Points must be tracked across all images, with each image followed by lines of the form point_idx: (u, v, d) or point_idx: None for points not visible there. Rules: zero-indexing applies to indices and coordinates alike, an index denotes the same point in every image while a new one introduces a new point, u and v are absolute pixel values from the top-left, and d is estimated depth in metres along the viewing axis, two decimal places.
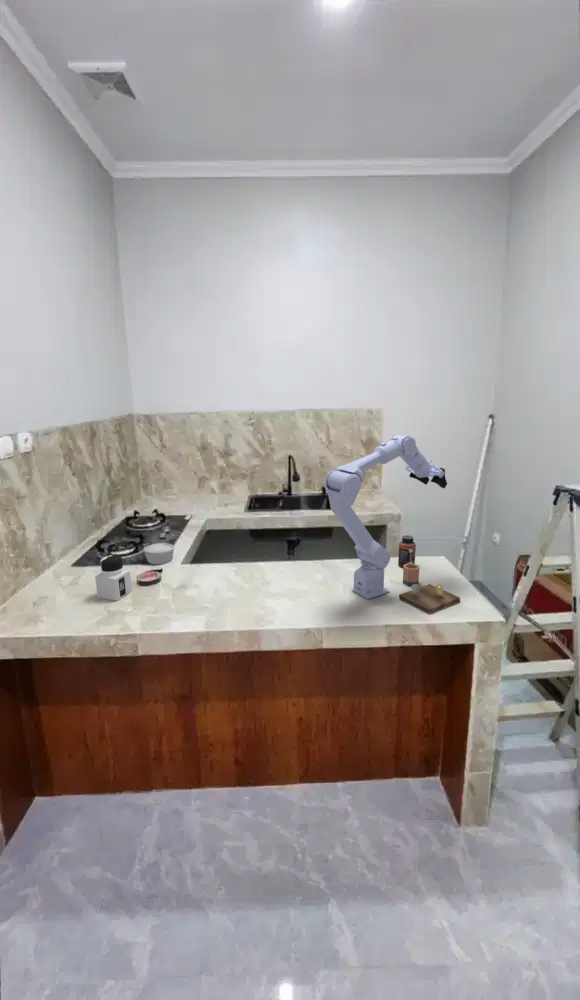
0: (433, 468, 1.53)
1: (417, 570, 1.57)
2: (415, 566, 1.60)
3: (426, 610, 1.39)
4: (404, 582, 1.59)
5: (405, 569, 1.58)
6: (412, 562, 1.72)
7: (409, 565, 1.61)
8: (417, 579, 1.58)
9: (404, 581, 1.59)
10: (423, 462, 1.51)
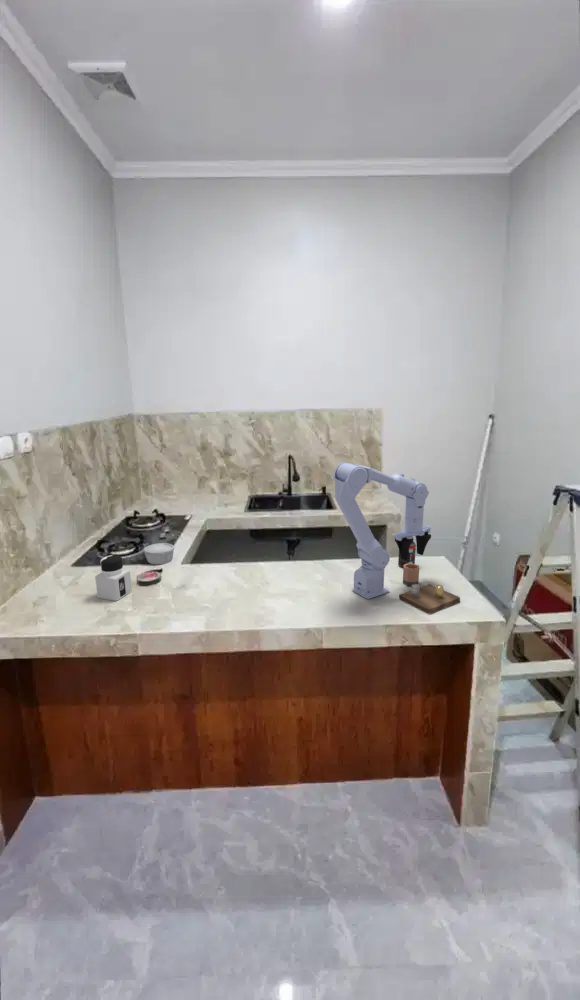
0: None
1: (417, 570, 1.57)
2: (415, 566, 1.60)
3: (426, 610, 1.39)
4: (404, 582, 1.59)
5: (405, 569, 1.58)
6: (412, 562, 1.72)
7: (409, 565, 1.61)
8: (417, 579, 1.58)
9: (404, 581, 1.59)
10: (408, 519, 1.53)
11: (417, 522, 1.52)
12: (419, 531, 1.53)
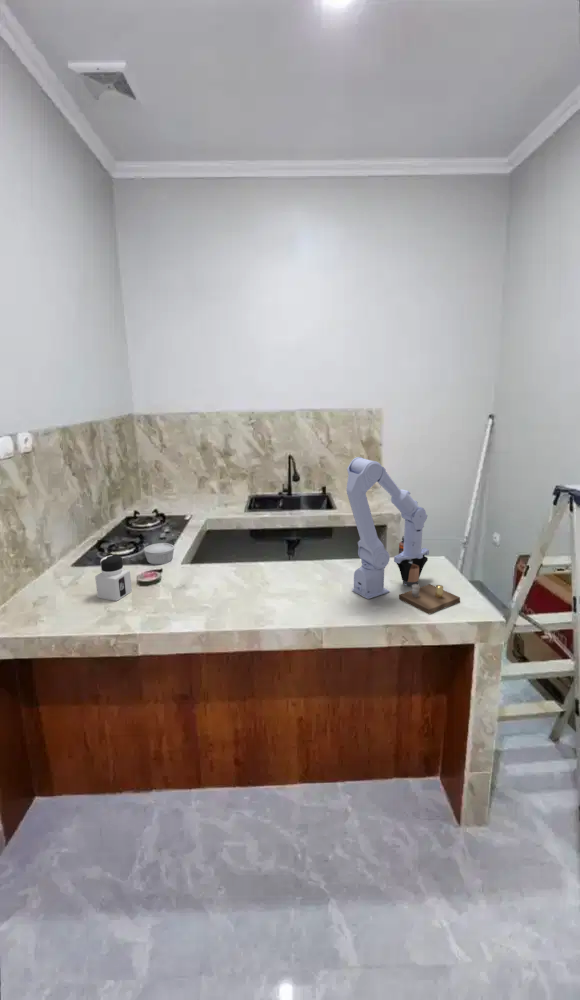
0: (407, 557, 1.55)
1: (417, 570, 1.57)
2: (415, 566, 1.60)
3: (426, 610, 1.39)
4: (404, 582, 1.59)
5: None
6: (412, 562, 1.72)
7: None
8: (417, 579, 1.58)
9: (404, 581, 1.59)
10: (406, 542, 1.55)
11: (416, 545, 1.54)
12: (418, 554, 1.55)
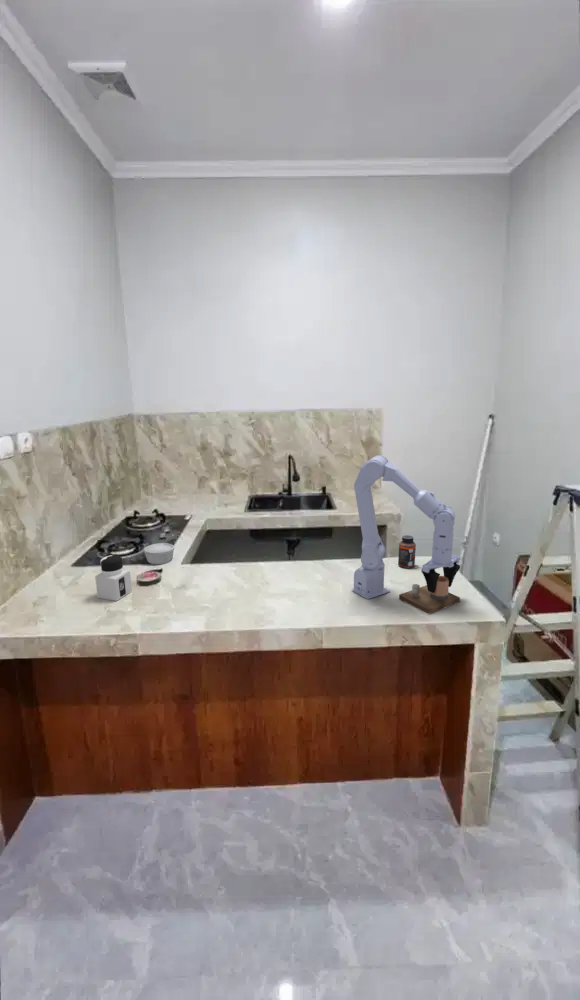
0: None
1: (447, 583, 1.43)
2: (444, 578, 1.46)
3: (426, 610, 1.39)
4: (432, 596, 1.45)
5: None
6: (412, 562, 1.72)
7: None
8: (446, 593, 1.44)
9: (432, 595, 1.45)
10: (436, 549, 1.41)
11: (446, 553, 1.40)
12: (448, 562, 1.41)
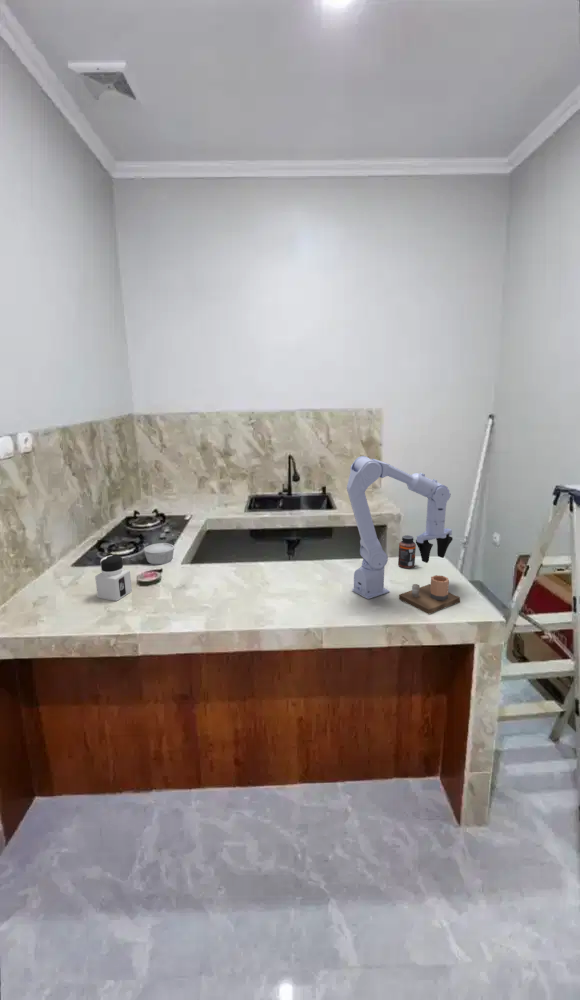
0: None
1: (447, 583, 1.43)
2: (444, 578, 1.46)
3: (426, 610, 1.39)
4: (432, 596, 1.45)
5: (433, 582, 1.44)
6: (412, 562, 1.72)
7: (437, 577, 1.47)
8: (446, 593, 1.44)
9: (432, 595, 1.45)
10: (429, 521, 1.50)
11: (439, 524, 1.49)
12: (441, 533, 1.50)
